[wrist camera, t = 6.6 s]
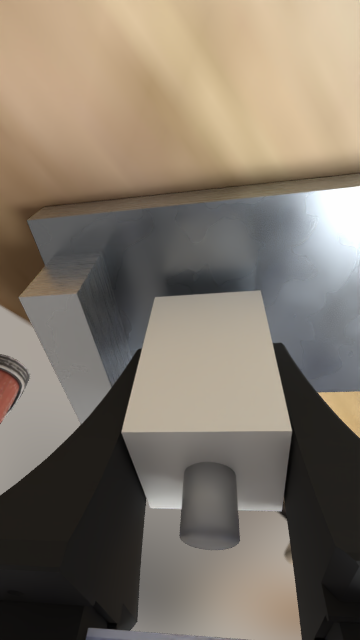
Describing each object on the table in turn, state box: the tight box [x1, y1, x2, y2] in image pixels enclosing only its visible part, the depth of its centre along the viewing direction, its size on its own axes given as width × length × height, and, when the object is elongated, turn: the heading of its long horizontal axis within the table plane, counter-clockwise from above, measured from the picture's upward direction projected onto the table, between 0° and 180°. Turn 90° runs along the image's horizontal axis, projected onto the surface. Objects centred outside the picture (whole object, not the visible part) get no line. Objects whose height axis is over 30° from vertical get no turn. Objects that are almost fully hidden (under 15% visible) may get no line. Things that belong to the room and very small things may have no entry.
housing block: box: [121, 290, 292, 550], centre depth 11 cm, size 4×4×8 cm
